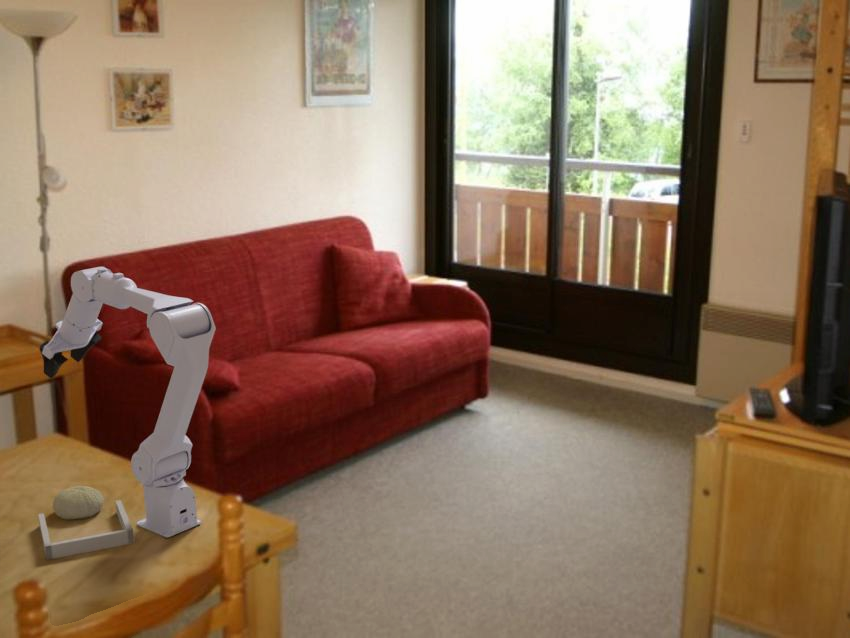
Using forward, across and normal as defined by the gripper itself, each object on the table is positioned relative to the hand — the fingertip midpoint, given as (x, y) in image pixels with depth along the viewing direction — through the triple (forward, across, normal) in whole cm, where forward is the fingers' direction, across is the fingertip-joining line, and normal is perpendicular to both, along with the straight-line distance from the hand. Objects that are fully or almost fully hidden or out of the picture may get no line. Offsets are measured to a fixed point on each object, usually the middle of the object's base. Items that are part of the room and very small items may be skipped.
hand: (62, 366), depth 209 cm
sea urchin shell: (+15, +13, +22) cm, 29 cm away
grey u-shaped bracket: (+8, +20, +28) cm, 35 cm away
